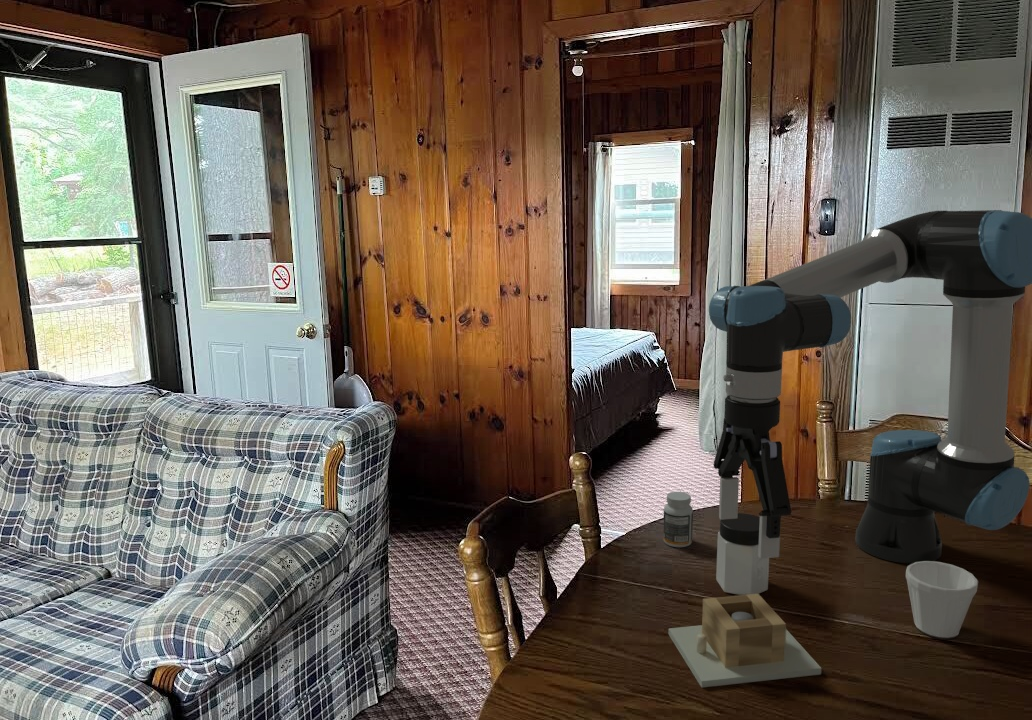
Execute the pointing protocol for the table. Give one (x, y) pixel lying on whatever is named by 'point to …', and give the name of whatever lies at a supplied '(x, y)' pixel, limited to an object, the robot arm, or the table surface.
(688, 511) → the pill bottle
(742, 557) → the jar
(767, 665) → the post fixture
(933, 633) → the cup
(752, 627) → the open wooden square frame
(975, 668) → the table surface
